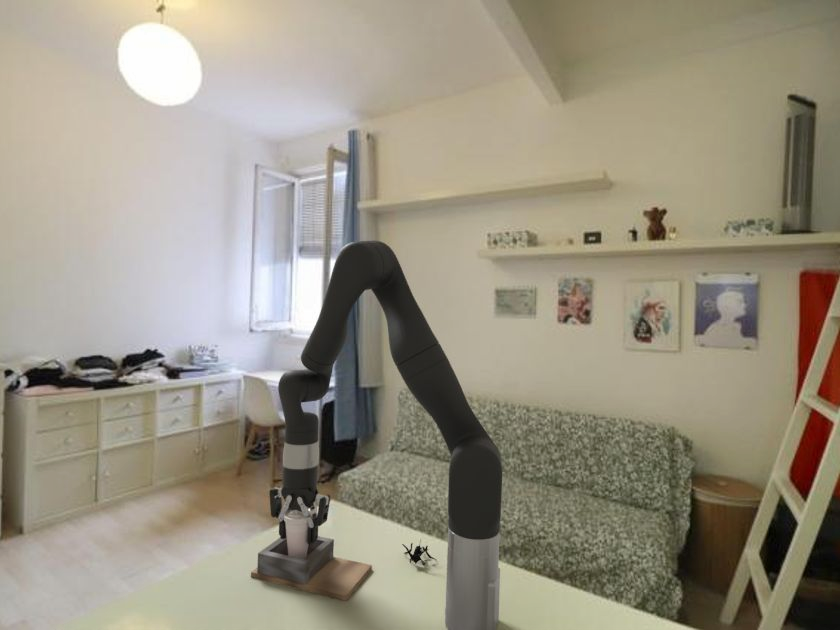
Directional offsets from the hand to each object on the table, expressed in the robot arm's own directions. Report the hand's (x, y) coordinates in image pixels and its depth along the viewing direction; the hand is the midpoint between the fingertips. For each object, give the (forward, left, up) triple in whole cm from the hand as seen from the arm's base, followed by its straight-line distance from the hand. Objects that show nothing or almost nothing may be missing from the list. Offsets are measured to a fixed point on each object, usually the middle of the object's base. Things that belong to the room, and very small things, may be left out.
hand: (297, 540), depth 99 cm
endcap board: (-4, 0, -6) cm, 7 cm away
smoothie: (0, 0, -4) cm, 4 cm away
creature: (-23, -14, -7) cm, 28 cm away
